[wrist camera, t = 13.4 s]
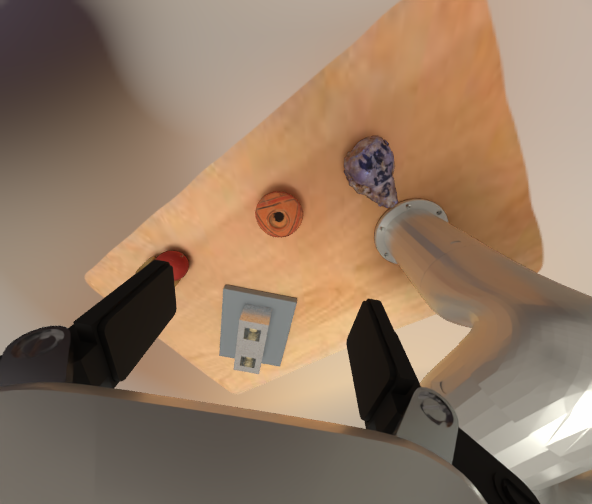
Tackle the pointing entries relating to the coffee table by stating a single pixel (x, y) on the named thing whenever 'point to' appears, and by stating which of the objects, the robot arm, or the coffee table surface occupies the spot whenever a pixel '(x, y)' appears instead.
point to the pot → (279, 214)
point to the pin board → (274, 326)
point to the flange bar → (251, 338)
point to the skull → (372, 170)
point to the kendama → (172, 263)
